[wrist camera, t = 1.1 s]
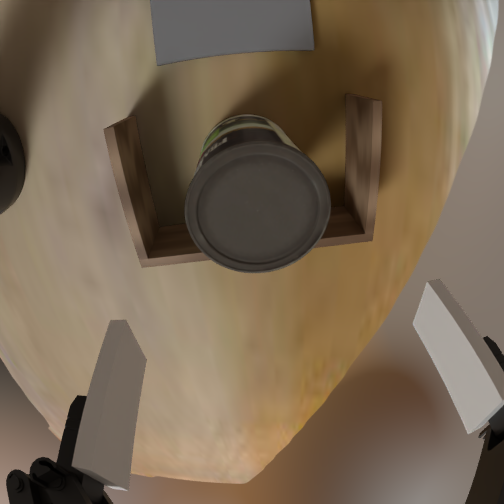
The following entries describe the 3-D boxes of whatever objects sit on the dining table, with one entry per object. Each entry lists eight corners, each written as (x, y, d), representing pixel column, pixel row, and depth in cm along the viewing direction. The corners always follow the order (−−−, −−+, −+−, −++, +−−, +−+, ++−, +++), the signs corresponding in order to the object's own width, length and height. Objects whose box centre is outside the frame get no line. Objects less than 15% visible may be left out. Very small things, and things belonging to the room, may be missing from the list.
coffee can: (186, 182, 34) (165, 248, 22) (223, 99, 29) (219, 115, 17) (267, 213, 37) (288, 289, 25) (308, 138, 32) (357, 181, 20)
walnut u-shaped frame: (126, 117, 29) (103, 129, 23) (353, 94, 29) (382, 101, 23) (154, 234, 37) (141, 267, 31) (350, 212, 37) (372, 240, 31)
